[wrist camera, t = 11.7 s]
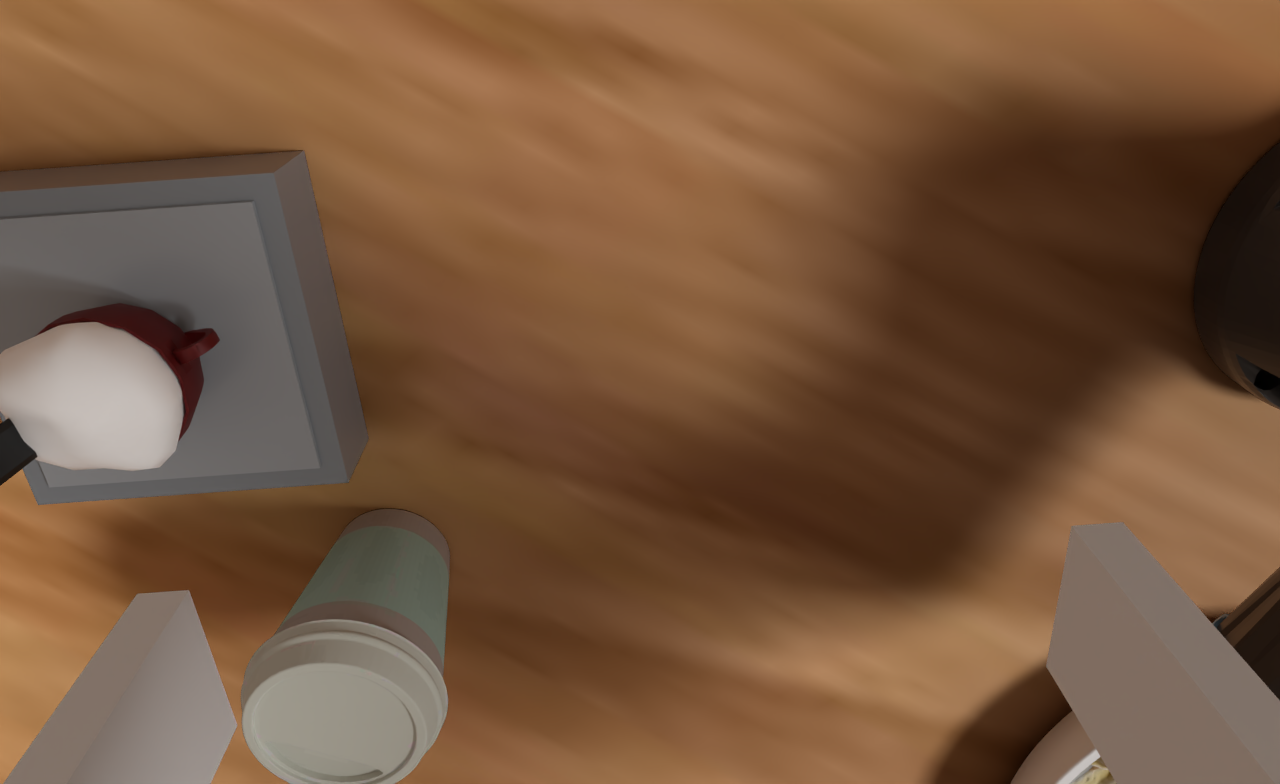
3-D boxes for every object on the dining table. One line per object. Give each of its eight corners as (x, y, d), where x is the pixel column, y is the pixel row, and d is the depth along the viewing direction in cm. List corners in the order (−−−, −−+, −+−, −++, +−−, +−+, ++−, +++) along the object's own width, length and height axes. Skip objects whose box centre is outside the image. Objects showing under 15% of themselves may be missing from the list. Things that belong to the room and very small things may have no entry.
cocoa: (234, 282, 37) (98, 409, 26) (262, 421, 40) (150, 589, 29) (-11, 290, 36) (-255, 425, 26) (34, 431, 39) (-169, 607, 28)
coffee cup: (276, 539, 47) (181, 716, 37) (403, 456, 45) (341, 618, 35) (387, 641, 51) (329, 832, 40) (509, 569, 49) (483, 748, 38)
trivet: (304, 150, 39) (271, 174, 35) (368, 438, 45) (346, 485, 41) (-29, 173, 38) (-98, 200, 35) (83, 459, 45) (34, 507, 41)
